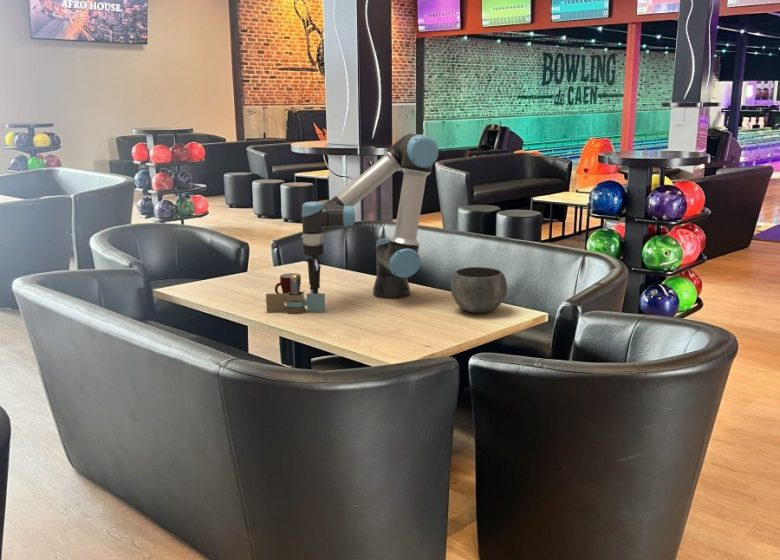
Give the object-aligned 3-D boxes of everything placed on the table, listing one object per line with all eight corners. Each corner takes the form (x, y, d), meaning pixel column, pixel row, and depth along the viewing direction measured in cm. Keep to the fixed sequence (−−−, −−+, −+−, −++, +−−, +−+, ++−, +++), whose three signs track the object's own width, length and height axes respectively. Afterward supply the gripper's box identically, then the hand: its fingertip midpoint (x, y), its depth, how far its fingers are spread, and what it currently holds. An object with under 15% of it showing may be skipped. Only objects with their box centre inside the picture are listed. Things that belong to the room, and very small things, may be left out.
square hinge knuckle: (304, 309, 294) (304, 291, 292) (303, 313, 288) (302, 295, 287) (268, 310, 294) (267, 292, 292) (266, 314, 288) (264, 296, 287)
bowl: (441, 307, 293) (441, 268, 290) (489, 301, 300) (490, 263, 297) (465, 321, 274) (465, 280, 271) (516, 314, 282) (517, 274, 278)
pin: (300, 310, 293) (299, 274, 289) (299, 312, 290) (298, 276, 286) (292, 310, 293) (290, 274, 289) (291, 312, 290) (289, 276, 286)
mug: (281, 304, 302) (279, 279, 299) (272, 300, 308) (270, 275, 306) (305, 300, 307) (304, 275, 305) (296, 296, 314) (294, 272, 312)
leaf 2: (286, 312, 289) (286, 295, 287) (290, 308, 294) (289, 291, 293) (323, 313, 287) (322, 295, 286) (326, 309, 293) (325, 291, 291)
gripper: (299, 241, 292) (302, 301, 298) (306, 247, 280) (308, 310, 286) (319, 239, 294) (321, 299, 300) (326, 246, 282) (328, 308, 288)
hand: (315, 304), depth 293 cm, fingers closed
